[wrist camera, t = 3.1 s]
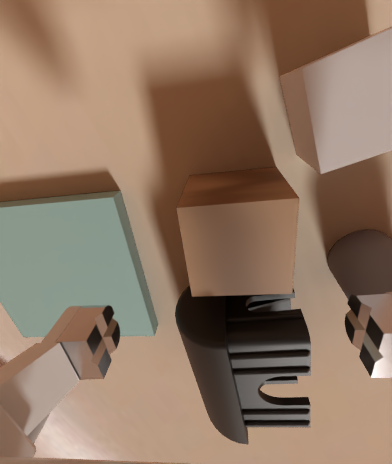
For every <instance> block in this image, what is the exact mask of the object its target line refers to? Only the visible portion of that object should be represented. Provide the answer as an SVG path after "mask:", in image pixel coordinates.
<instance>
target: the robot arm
mask: <svg viewBox="0 0 392 464" xmlns="http://www.w3.org/2000/svg"><path fill="white" fill-rule="evenodd" d="M348 305H349V306H350V308H351V310H350V311H349V312H348V313H347V314H346V317H345V327H346V332H347V335H348V337H349V339H350V341H351V343H352V344H353V345H354V346H356V347H357V348H358V349H360V350H361V352H360V356H359V357H360V359H361V361H362V362H363V364H364V366H365V368H366V369H367V371H368V373H369V375H370V376H371V378H392V292H386V293H369V294H351V296H350V297H349V301H348ZM113 315H114V311H113V308H112V306H109V305H88V306H70V307H68V308H67V309H66V310H65V311H64V313H63V314H62V315H61V317H60V318H59V319H58V321H57V322H56V323H55V325H54V326H53V327H52V329H51V330H50V331H49V333H48V334H47V335H46V337H45V338H44V339H43V341H42V342H41V343H36V344H35V345H33V346H32V347H30V348H29V349H27V350H26V351H24V352H23V353H21V354H20V355H18V356H17V357H15V358H14V359H12V360H11V361H9V362H8V363H6V364H5V365H3V366H2V367H0V464H188V463H162V462H136V461H110V460H83V459H57V458H33V456H34V454H35V452H36V447H35V445H34V444H33V443H32V441H31V440H30V439H29V438H28V437H27V436H28V435H29V434H30V432H31V431H32V430H33V429H34V428H35V427H36V426H37V425H38V424H39V423H40V422H41V421H42V420H43V419H44V418H45V417H46V416H47V415H48V414H49V413H50V412H51V411H52V410H53V409H54V408H55V407H56V406H57V405H58V403H59V402H60V401H61V400H62V399H63V398H64V397H65V396H66V395H67V394H68V393H69V392H70V391H71V390H72V389H73V388H74V387H75V386H76V385H77V384H78V383H79V382H80V380H84V379H104V377H105V375H106V372H107V370H108V368H109V365H110V363H111V357H110V354H111V353H112V352H113V351H115V350H116V348H117V346H118V343H119V338H120V327H119V324H118V322H117V321H116V320H114V319H113V318H112V317H113Z"/></svg>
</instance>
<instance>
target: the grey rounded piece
mask: <svg viewBox="0 0 392 464" xmlns="http://www.w3.org/2000/svg"><path fill="white" fill-rule="evenodd" d="M327 262H328V267H329V269H330V271H331V272H332V274H333V275H334V277H335V279H336V280H337V282H338V284H339V285H340V287H341V288H342V290H343V292H344V293H345V295H346V297H347V298H348V300H349V297H350V296H351V294H369V293H386V292H392V239H391V238H390V237H388V236H387V235H386V234H384V233H382V232H380V231H376V230H360V231H356V232H353V233H350V234H348V235H346V236H344V237H343V238H341V239H340V240H339V241H337V242H336V243H335V244H334V246H333V247H332V248H331V250H330V252H329V255H328V261H327Z"/></svg>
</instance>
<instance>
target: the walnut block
mask: <svg viewBox="0 0 392 464" xmlns="http://www.w3.org/2000/svg"><path fill="white" fill-rule="evenodd" d="M298 208H299V197H298V196H297V194H296V193H295V192H294V190H293V189H292V188H291V186H290V185H289V184H288V182H287V181H286V180H285V178H284V177H283V175H282V174H281V173H280V171H279V170H278V169H277V167H270V168H260V169H250V170H240V171H230V172H219V173H209V174H199V175H190V176H189V178H188V181H187V183H186V186H185V188H184V191H183V193H182V195H181V198H180V200H179V203H178V205H177V208H176V209H177V215H178V220H179V226H180V232H181V238H182V243H183V249H184V255H185V260H186V266H187V272H188V277H189V283H190V289H191V294H192V297H196V296H230V295H265V294H292V291H293V277H294V263H295V249H296V236H297V222H298Z"/></svg>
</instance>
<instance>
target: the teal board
mask: <svg viewBox="0 0 392 464" xmlns="http://www.w3.org/2000/svg"><path fill="white" fill-rule="evenodd" d="M0 302H1V304H2V305H3V307H4V308H5V310H6V311H7V313H8V315H9V316H10V318H11V319H12V321H13V322H14V324H15V325H16V327H17V328H18V330H19V331H20V333H21V334H22V336H23V337H46V335H47V334H48V333H49V331H50V330H51V329H52V327H53V326H54V325H55V323H56V322H57V321H58V319H59V318H60V317H61V315H62V314H63V313H64V311H65V310H66V309H67V308H68V307H70V306H88V305H109V306H112V308H113V311H114V315H113V317H112V318H113V319H114V320H116V321H117V322H118V324H119V327H120V336H155V333H156V329H157V326H158V323H157V319H156V315H155V312H154V308H153V305H152V301H151V298H150V294H149V290H148V287H147V283H146V280H145V276H144V273H143V269H142V266H141V262H140V258H139V255H138V251H137V248H136V244H135V241H134V237H133V233H132V230H131V226H130V223H129V219H128V216H127V212H126V208H125V205H124V201H123V198H122V194H121V191H110V192H100V193H89V194H79V195H68V196H58V197H47V198H37V199H26V200H16V201H5V202H0Z"/></svg>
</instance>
